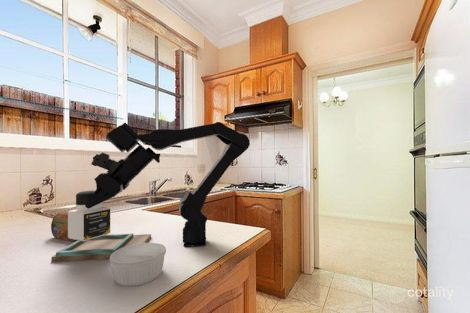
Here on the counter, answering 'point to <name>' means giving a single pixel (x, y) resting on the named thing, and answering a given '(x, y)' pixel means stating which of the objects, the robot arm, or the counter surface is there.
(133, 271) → the ramekin
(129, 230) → the counter surface
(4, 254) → the counter surface
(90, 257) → the socket board
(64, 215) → the tin
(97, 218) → the medicine bottle
